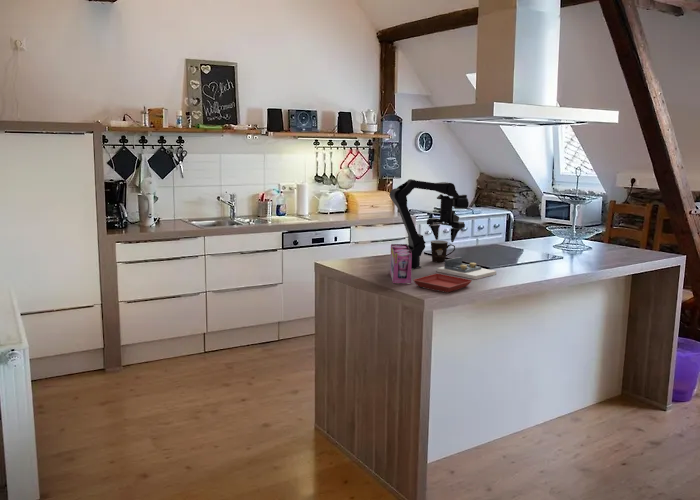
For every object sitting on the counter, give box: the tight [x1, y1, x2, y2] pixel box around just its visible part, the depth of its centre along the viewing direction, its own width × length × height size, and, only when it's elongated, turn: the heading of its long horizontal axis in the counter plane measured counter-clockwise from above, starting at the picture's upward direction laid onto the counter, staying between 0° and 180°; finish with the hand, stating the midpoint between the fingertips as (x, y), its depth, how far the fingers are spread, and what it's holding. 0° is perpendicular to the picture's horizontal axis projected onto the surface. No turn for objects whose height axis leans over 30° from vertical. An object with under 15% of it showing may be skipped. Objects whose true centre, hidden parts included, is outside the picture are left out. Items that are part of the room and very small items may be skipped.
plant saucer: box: [412, 273, 473, 293], centre depth 262 cm, size 18×18×3 cm
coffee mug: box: [430, 239, 456, 264], centre depth 314 cm, size 12×9×10 cm
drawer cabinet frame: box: [443, 256, 482, 273], centre depth 291 cm, size 12×12×4 cm
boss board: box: [436, 262, 497, 280], centre depth 289 cm, size 16×22×4 cm
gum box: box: [389, 243, 412, 284], centre depth 275 cm, size 24×8×14 cm, turn 0°
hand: (444, 241), depth 302 cm, fingers open, 9 cm apart
